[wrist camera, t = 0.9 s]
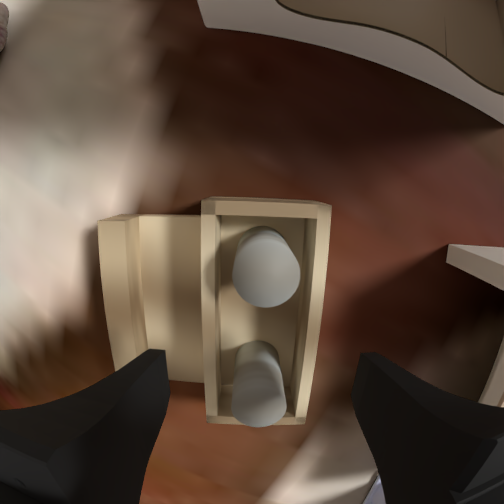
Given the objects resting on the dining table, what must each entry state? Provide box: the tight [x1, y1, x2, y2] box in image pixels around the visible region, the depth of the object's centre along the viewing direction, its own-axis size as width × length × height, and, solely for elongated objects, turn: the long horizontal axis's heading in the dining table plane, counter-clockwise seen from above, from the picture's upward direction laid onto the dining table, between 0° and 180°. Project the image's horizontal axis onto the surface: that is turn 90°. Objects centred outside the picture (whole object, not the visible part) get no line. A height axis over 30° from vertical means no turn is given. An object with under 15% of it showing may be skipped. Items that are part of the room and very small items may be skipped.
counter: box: [446, 244, 504, 407], centre depth 15 cm, size 18×10×9 cm, turn 178°
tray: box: [98, 197, 332, 427], centre depth 15 cm, size 12×11×5 cm
